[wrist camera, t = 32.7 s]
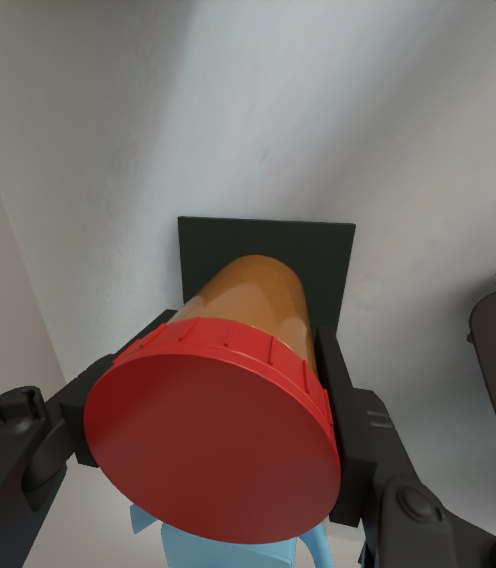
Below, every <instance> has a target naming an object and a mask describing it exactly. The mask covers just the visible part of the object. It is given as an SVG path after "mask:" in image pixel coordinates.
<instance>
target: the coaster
mask: <svg viewBox="0 0 496 568" xmlns="http://www.w3.org/2000/svg"><path fill="white" fill-rule="evenodd" d="M355 228H356V225H355V224H350V223H326V222H303V221H279V220H256V219H233V218H209V217H186V216H180V217H178V230H179V244H180V258H181V272H182V286H183V299H184V305H185V304H186V303H187V302H188V301H189V300H190V299H191V298H192V297H193V296H194V295H195V294H196V293H197V292H198V291H199V290H200V289H201V288H202V287H203V286H204V285H205V284H206V283H208V282H209V281H210V280H211V279H212V278H213V277H214V276H215V275H216V274H217V273H218V272H219V271H220V270H221V269H222V268H223V267H224V266H225V265H227V264H228V263H229V262H231V261H233V260H235V259H237V258H240V257H244V256H249V255H261V256H267V257H271V258H274V259H276V260H278V261H280V262H282V263H284V264H285V265H286V266H288V267H289V268H290V269H291V270H292V271H293V272H294V273H295V274H296V275H297V277H298V278H299V280H300V282H301V284H302V286H303V289H304V292H305V297H306V303H307V309H308V315H309V322H310V328H311V334H312V340H313V346H314V344H315V337H316V331H317V325H319V326H328V327H333V330H334V332H335V335H336V332H337V326H338V321H339V315H340V310H341V304H342V299H343V293H344V288H345V282H346V277H347V271H348V266H349V261H350V255H351V250H352V244H353V239H354V233H355Z"/></svg>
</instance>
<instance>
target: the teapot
mask: <svg viewBox="0 0 496 568" xmlns="http://www.w3.org/2000/svg"><path fill="white" fill-rule="evenodd" d="M130 513H131V520H132V526H133V530H134V534H137V533H138V532H140V531H141V530H143V529H144V528H146V527H147V526H149V525H150V524H152V523H153V522H155V521H156V520H158V519H157V518H155V517H153V516H152V515H150V514H149V513H147V512H146V511H144V510H142V509H141V508H140V507H138V506H137V505H136V504H133V505H131V506H130ZM161 535H162V540H163V546H164V550H165V554H166V559H167V562H168V566H169V568H294V560H295V550H296V539H297V537H295V538H292V539H289V540H285V541H281V542H276V543H268V544H251V545H248V544H233V543H226V542H220V541H215V540H211V539H206V538H203V537H199V536H196V535H193V534H190V533H187V532H185V531H182V530H179V529H177V528H175V527H173V526H171V525H168V524H166V523H164V522H163V524H162V528H161ZM298 537H299V538H300V539H301V540H302V541H304V543H305V544H306V545H307V547H308V548H309V550H310V552H311V554H312V557H313V559H314V563H315V566H316V568H334V564H333V561H332V557H331V553H330V549H329V546H328V541H327V537H326V534H325V530H324V527H323V524H322V522H321V523H320V524H318V525H317V526H316V527H314V528H313V529H312V530H310V531H308V532H306V533H304V534H302V535H300V536H298Z"/></svg>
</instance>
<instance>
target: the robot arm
mask: <svg viewBox="0 0 496 568" xmlns="http://www.w3.org/2000/svg"><path fill="white" fill-rule="evenodd" d="M177 312H178V310H169V309H166V310H165V311H164V312H163V313H162V314H160V315H159V316H158V317H157V318H156V319H155V320H153V321H152V322H151V323H150V324H149V325H148V326H147V327H145V328H144V329H143V330H142V331H141V332H140V333H138V334H137V335H136V336H135V337H134V338H133V339H131V340H130V341H129V342H128V343H127V344H126V345H125V346H123V347H122V348H121V349H120V350H119V351H118V352H116V353H115V354H108V355H106V356H104V357H102V358H100V359H98V360H97V361H95V362H94V363H93V364H92V365H90V366H89V367H88V368H87V369H86V371H85V370H84V371H83V372H82V373H81V374H79V375H78V377H77V378H75V379H73V380H72V381H71V382H70V383H68V384H67V385H66V386H65V387H64V388H62V389H61V390H60V391H59V392H58V393H56V394H55V395H54V396H53V397H51V398H50V399H49V400H48V401H46V402H44V400H43V397H42V394H41V391H40V389H39V388H37V387H35V386H24V387H20V388H15V389H13V390H10V391H8V392H5V393H3V394H1V395H0V568H22V566H23V564H24V562H25V560H26V558H27V556H28V554H29V552H30V550H31V547H32V545H33V543H34V541H35V539H36V537H37V535H38V532H39V530H40V528H41V526H42V524H43V522H44V520H45V517H46V515H47V513H48V511H49V509H50V507H51V505H52V503H53V500H54V498H55V496H56V494H57V492H58V490H59V488H60V486H61V483H62V481H63V479H64V477H65V475H66V471H67V465H66V461H67V460H68V459H69V458H70V456H71V455H72V454H73V453H74V452H75V455H76V458H77V461H78V463H79V464H83V465H87V466H91V467H96V468H98V467H99V465H98V464H97V462H96V461H95V459H94V457H93V455H92V453H91V451H90V448H89V445H88V443H87V440H86V435H85V431H84V420H83V417H84V408H85V404H86V401H87V398H88V395H89V393H90V391H91V390H92V388H93V386H94V384H95V383H96V382H97V381H98V380H99V379H100V377H101V376H102V375H103V374H104V373H105V372H106V371H107V370H109V369H110V368H111V367H112V366H113V364H112V362H113V361H114V360H115V359H116V358H117V357H119V356H120V355H121V354H122V353H123V352H124V351H125V350H126V349H127V348H129V347H130V346H131V345H132V344H133V343H134V342H135V341H136V340H137V339H140V340H141V339H142V338H144V337H145V336H146V335H147V334H149V333H150V332H152V331H154V330H156V329H157V328H158V327H159V326H160V325H161V324H163V323H166V322H167V321H168V320H169V319H171V318H172V317H173V316H174V315H175V314H176V313H177ZM314 352H315V359H316V365H317V371H318V377H319V382H320V384H321V386H322V388H323V389H326V390H327V394H328V399H329V405H330V410H331V415H332V420H333V425H334V426H333V429H334V434H335V439H336V445H337V451H338V455H339V460H340V466H341V485H340V492H339V495H338V498H337V500H336V503H335V505H334V507H333V508H332V510H331V512H330V513H329V520H330V522H334V523H338V524H343V525H347V526H351V527H356V528H358V525H359V522H360V518H362V522H363V527H364V531H365V536H366V540H365V542H364V545H363V548H362V551H361V554H360V557H359V560H358V563H359V564H361V568H496V536H494V535H492V534H490V533H488V532H487V531H485V530H483V529H481V528H479V527H477V526H475V525H473V524H471V523H469V522H467V521H465V520H463V519H461V518H459V517H458V516H456V515H454V514H453V513H451V512H449V511H448V510H447V509H446V508H444V506H443V505H442V503H441V501H440V500H439V499H438V498H437V497H436V496H435V495H434V494H433V493H432V492H431V491H430V490H429V489H428V488H427V487H426V486H425V485H423V484H422V483H421V481H420V479H419V478H418V476H417V474H416V472H415V470H414V467H413V465H412V463H411V461H410V459H409V457H408V454H407V452H406V450H405V448H404V446H403V444H402V442H401V439H400V437H399V435H398V433H397V431H396V430H395V426H394V424H393V422H392V420H391V418H390V417H389V414H388V411H387V409H386V407H385V405H384V403H383V402H382V400H381V399H380V398H379V397H378V396H377V395H376V394H375V393H374V392H373V391H371V390H364V389H357V388H353V386H352V383H351V380H350V377H349V374H348V371H347V368H346V365H345V362H344V359H343V356H342V353H341V350H340V347H339V344H338V341H337V338H336V335H335V332H334V330H333V327H328V326H319V325H317V331H316V337H315V344H314Z"/></svg>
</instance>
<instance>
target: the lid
mask: <svg viewBox="0 0 496 568" xmlns="http://www.w3.org/2000/svg"><path fill="white" fill-rule="evenodd" d="M112 364H113V366H112V367H111V368H110V369H109V370H107V371H106V372H105V373H104V374H103V375H102V376H101V377H100V379H99V380H98V381H97V382H96V383H95V384H94V386H93V388H92V390H91V391H90V393H89V395H88V398H87V401H86V404H85V408H84V417H83V420H84V431H85V435H86V440H87V443H88V445H89V448H90V451H91V453H92V455H93V457H94V459H95V461H96V462H97V464H98V465H99V467H100V468H101V470H102V471H103V473H104V474H105V475H106V476H107V478H108V479H109V480H110V481H111V483H112V484H113V485H114V486H116V488H117V489H118V490H119V491H120V492H121V493H122V494H124V495H125V496H126V497H127V498H128V499H129V500H130V501H132V502H133V503H134V504H136V505H137V506H138V507H140V508H141V509H142V510H144V511H146V512H147V513H149V514H150V515H152V516H153V517H155V518H157V519H159V520H161V521H163V522H164V523H166V524H168V525H171V526H173V527H175V528H177V529H179V530H182V531H185V532H187V533H190V534H193V535H196V536H199V537H203V538H206V539H211V540H215V541H220V542H226V543H233V544H248V545H251V544H268V543H276V542H281V541H285V540H289V539H292V538H295V537H297V536H300V535H302V534H304V533H306V532H308V531H310V530H312V529H313V528H314V527H316V526H317V525H318V524H320V523H321V522H322V521H323V520H324V519H325V518H326V517H327V516H328V515H329V513H330V512H331V510H332V508H333V507H334V505H335V503H336V500H337V498H338V495H339V492H340V485H341V466H340V460H339V455H338V451H337V445H336V439H335V434H334V429H333V426H334V425H333V420H332V415H331V410H330V405H329V399H328V394H327V390H326V389H323V388H322V386H321V384H320V382H319V381H318V379H317V377H316V376H315V374H314V373H313V372H312V370H311V369H310V368H309V367H308V364H307V361H306V360H302V359H301V358H300V357H299V356H298V355H297V354H296V353H295V352H293V351H292V350H291V349H290V348H288V347H287V346H286V345H285V344H283V343H281V342H280V341H279V340H277V339H276V337H275V336H272V337H271V336H270V335H268V334H266V333H264V332H262V331H259V330H257V329H255V328H252V327H250V326H247V325H244V324H240V323H238V321H234V322H233V321H227V320H221V319H209V318H199V317H195V318H194V319H186V320H182V321H177V322H172V323H170V324H167V325H165V323H163V324H161V325H160V326H159V327H158V328H157V329H156V330H154V331H152V332H150V333H149V334H147V335H146V336H145V337H144V338H142V339H141V340H140V339H137V340H136V341H135V342H134V343H133V344H132V345H131V346H130V347H129V348H127V349H126V350H125V351H124V352H123V353H122V354H121V355H120V356H119V357H117V358H116V359H115V360H114V361H113V362H112Z"/></svg>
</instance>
